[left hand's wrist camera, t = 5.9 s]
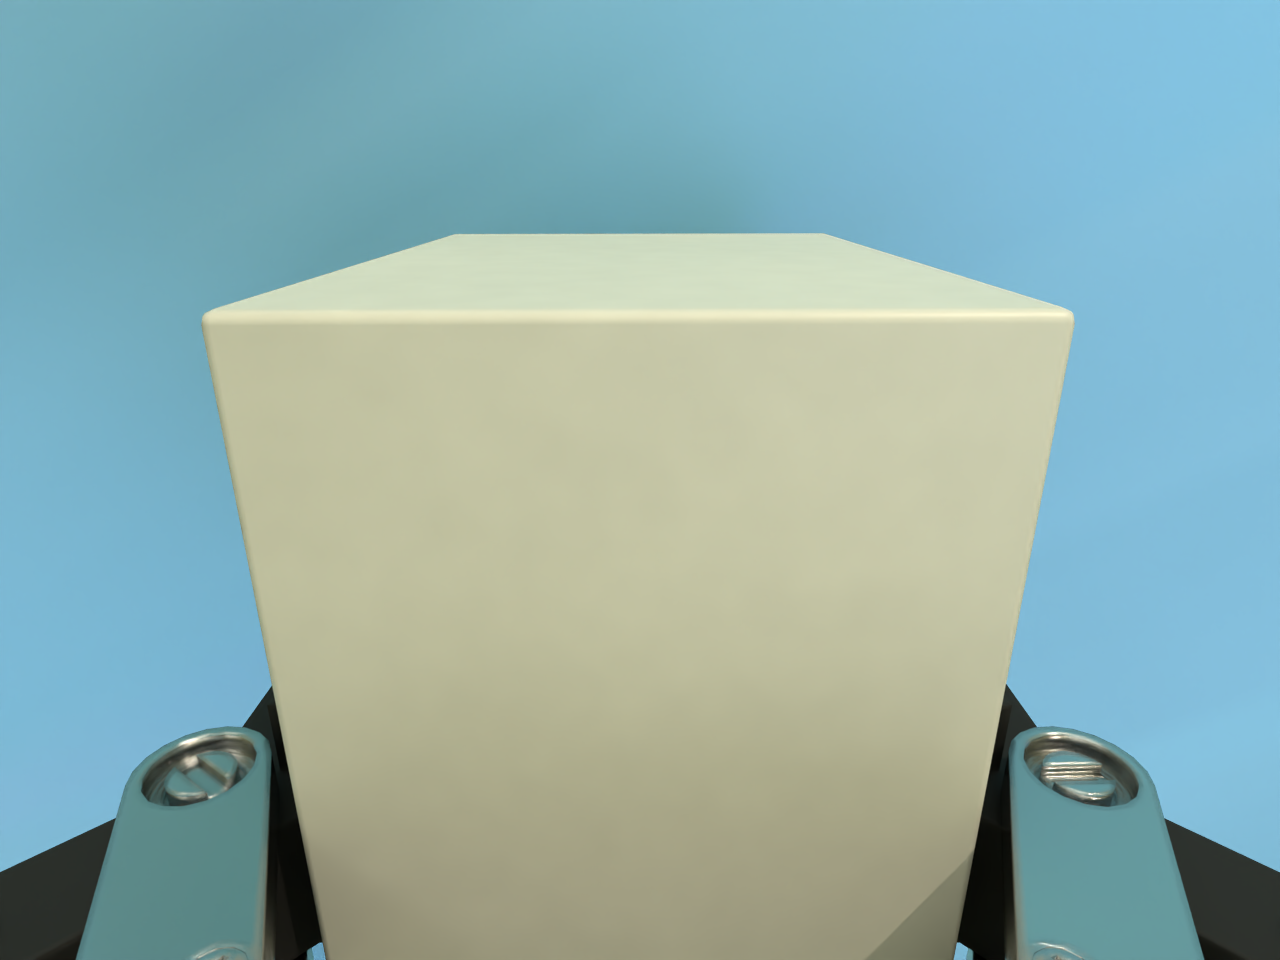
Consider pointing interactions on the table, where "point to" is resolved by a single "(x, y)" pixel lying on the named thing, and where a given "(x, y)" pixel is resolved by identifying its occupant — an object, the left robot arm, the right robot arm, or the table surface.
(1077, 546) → the table surface
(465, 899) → the block
